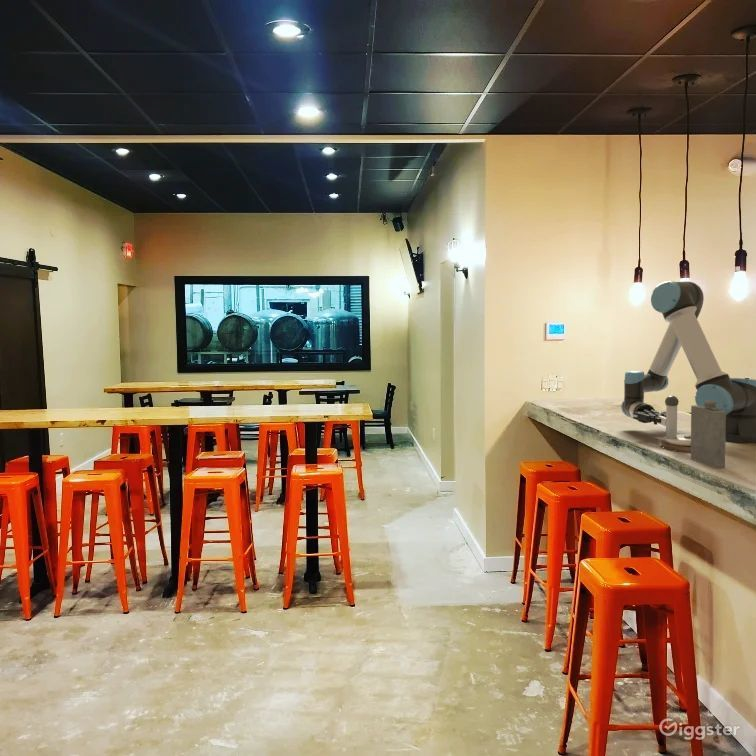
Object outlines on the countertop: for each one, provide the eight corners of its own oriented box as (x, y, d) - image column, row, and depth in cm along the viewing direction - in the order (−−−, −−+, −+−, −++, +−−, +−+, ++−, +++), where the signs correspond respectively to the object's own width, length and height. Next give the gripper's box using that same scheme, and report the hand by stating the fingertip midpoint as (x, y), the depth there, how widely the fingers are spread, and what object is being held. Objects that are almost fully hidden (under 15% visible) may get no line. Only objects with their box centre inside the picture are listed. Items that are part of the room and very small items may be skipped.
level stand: (701, 441, 233) (701, 427, 232) (727, 451, 215) (727, 436, 214) (652, 443, 233) (652, 429, 232) (674, 453, 215) (674, 438, 215)
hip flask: (688, 457, 208) (689, 398, 206) (700, 457, 208) (701, 397, 206) (717, 468, 192) (718, 404, 190) (729, 468, 192) (731, 403, 190)
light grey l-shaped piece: (701, 437, 231) (701, 392, 229) (720, 445, 215) (721, 397, 214) (657, 438, 232) (657, 393, 230) (673, 446, 217) (673, 398, 215)
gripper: (658, 421, 249) (684, 432, 226) (626, 421, 250) (648, 432, 226) (659, 402, 248) (685, 411, 225) (626, 403, 249) (648, 412, 226)
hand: (666, 422), depth 226 cm, fingers closed
